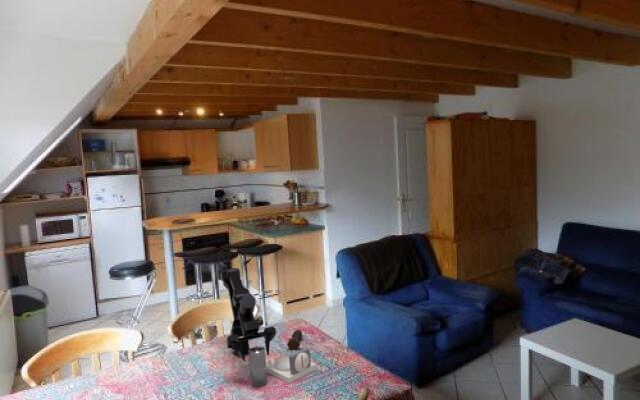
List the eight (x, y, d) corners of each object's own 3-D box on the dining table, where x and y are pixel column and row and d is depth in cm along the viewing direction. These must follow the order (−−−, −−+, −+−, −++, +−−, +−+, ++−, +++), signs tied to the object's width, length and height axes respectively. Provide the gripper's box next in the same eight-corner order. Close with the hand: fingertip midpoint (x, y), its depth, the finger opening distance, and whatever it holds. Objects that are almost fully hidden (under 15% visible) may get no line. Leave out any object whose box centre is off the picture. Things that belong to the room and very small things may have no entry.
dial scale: (266, 372, 168) (264, 350, 168) (293, 358, 178) (291, 338, 177) (289, 383, 158) (287, 360, 157) (316, 369, 168) (315, 347, 167)
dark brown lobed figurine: (300, 340, 201) (295, 353, 186) (291, 335, 202) (285, 348, 187) (306, 329, 201) (301, 341, 186) (296, 324, 201) (291, 336, 186)
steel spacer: (248, 384, 160) (245, 350, 159) (261, 377, 164) (258, 345, 163) (257, 389, 156) (254, 354, 155) (270, 382, 160) (267, 349, 159)
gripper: (225, 315, 161) (233, 355, 151) (272, 306, 167) (283, 343, 158) (223, 329, 168) (231, 367, 159) (269, 319, 175) (279, 355, 166)
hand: (256, 358), depth 160 cm, fingers open, 9 cm apart
